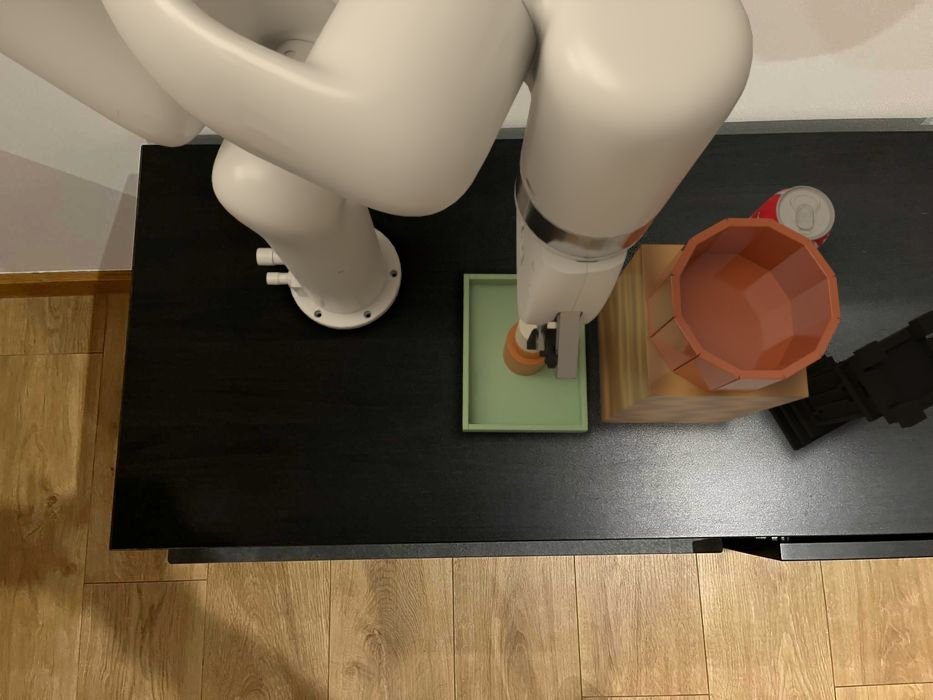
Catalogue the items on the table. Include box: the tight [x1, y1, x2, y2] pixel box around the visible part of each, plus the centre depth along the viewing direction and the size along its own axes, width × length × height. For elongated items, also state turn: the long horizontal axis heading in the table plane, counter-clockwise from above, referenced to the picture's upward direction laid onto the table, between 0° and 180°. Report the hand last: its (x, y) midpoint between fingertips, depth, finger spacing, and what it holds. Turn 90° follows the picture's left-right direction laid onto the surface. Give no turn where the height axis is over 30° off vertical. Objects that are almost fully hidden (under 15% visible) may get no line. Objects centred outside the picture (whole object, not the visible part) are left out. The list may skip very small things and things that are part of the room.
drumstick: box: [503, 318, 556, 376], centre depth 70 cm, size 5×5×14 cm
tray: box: [462, 273, 589, 434], centre depth 76 cm, size 13×17×2 cm
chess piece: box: [768, 309, 933, 452], centre depth 66 cm, size 8×8×20 cm
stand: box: [596, 244, 809, 424], centre depth 67 cm, size 13×13×20 cm
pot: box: [648, 217, 842, 393], centre depth 54 cm, size 12×12×6 cm
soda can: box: [748, 185, 836, 249], centre depth 74 cm, size 7×7×12 cm
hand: (546, 283), depth 52 cm, fingers open, 9 cm apart
